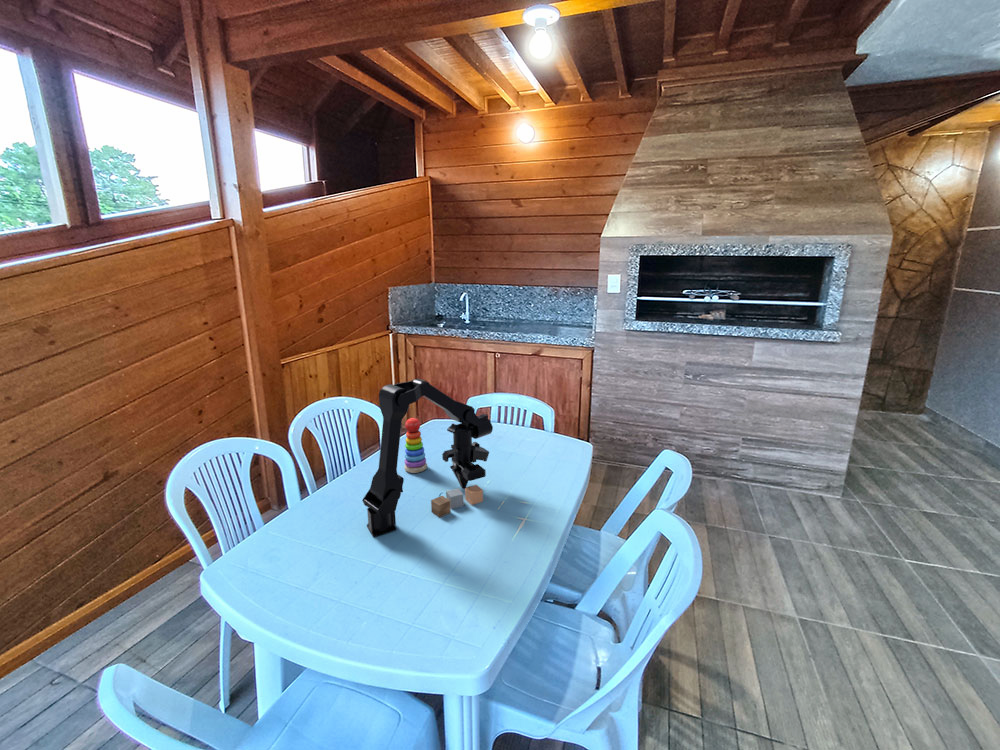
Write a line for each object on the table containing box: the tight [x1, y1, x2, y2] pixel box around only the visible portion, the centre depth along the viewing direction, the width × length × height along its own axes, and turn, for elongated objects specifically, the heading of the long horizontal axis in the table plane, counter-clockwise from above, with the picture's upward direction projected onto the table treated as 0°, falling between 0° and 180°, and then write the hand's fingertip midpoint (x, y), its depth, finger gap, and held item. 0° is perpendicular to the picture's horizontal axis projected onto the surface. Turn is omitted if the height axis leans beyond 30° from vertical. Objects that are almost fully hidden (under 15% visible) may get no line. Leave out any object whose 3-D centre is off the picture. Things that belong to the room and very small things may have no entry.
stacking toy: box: [403, 417, 428, 474], centre depth 165 cm, size 8×8×19 cm
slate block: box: [445, 488, 465, 510], centre depth 143 cm, size 4×4×4 cm
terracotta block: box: [464, 484, 484, 506], centre depth 145 cm, size 4×4×4 cm
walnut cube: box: [430, 495, 452, 518], centre depth 139 cm, size 4×4×4 cm
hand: (463, 488), depth 151 cm, fingers closed
